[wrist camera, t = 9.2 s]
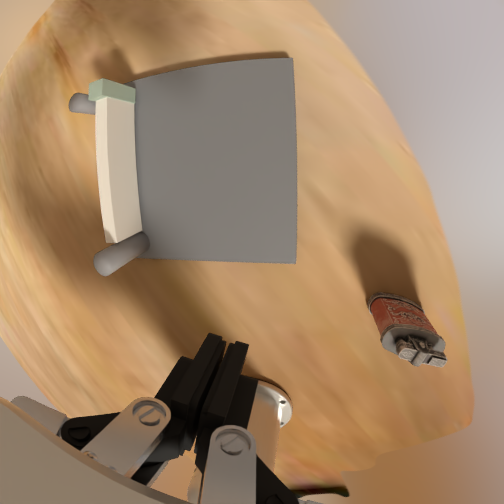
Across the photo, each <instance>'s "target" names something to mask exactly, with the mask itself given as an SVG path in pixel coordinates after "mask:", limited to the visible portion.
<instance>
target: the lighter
mask: <svg viewBox="0 0 504 504" xmlns="http://www.w3.org/2000/svg"><path fill="white" fill-rule="evenodd" d="M368 309H369V311H370V313H371V314H372V315H373V317H374V320H375V322H376V325H377V327H378V330H379V332H380V335H381V338H380V340H381V343H382V346H383V347H384V348H385V349H386V350H388V351H390V352H392V353H394V354H396V355H398V357H399V358H401V359H405V360H408V361H409V362H410V363H411V364H412V365H414V366H420V365H421V364H422V363H423V364H427V365H432V366H437V367H443V366H444V365H445V364H446V362H447V358H446V356H445V354H444V353H443V351H444V349H445V342H444V340H443V338H442V337H441V336H439V335H438V334H437V332H436V331H435V329H434V328H433V326H432V325H431V323H430V322H429V320H428V319H427V317H426V316H425V312H424V310H423V309H422V307H421V306H419V305H418V304H416V303H415V302H413V301H411V300H409V299H407V298H404V297H402V296H398V295H394V294H389V293H381V292H379V293H375V294H373V295H372V296H371V297H370V299H369V300H368Z"/></svg>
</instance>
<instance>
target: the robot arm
mask: <svg viewBox="0 0 504 504" xmlns="http://www.w3.org/2000/svg"><path fill="white" fill-rule="evenodd" d="M225 346H226V341H223V340H222V336H218V335H215V334H212V333H209V334H208V335H207V337H206V339H205V341H204V342H203V344H202V346H201V348H200V349H199V351H198V353H197V354H196V356H195V358H194V360H192V359H189V358H186V357H183V356H182V357H181V358H180V359H179V360H178V362H177V363H176V365H175V366H174V368H173V370H172V371H171V373H170V374H169V376H168V377H167V379H166V380H165V382H164V383H163V385H162V387H161V388H160V390H159V391H158V393H157V394H156V396H155V397H154V398H152V397H141V398H138V399H136V400H134V401H133V402H131V403H130V404H129V405H128V406H127V407H126V408H125V409H124V410H123V411H122V412H118V413H111V414H104V415H95V416H86V417H76V418H72V419H70V418H68V417H67V416H66V414H63V413H61V412H59V411H56V410H54V409H52V408H49V407H47V406H45V405H43V404H41V403H38V402H37V401H35V400H32V399H30V398H28V397H25V396H18V397H16V398H14V399H13V400H12V401H11V402H9V401H8V400H6V399H4V398H2V397H0V504H321V503H318V502H314V501H310V500H307V501H303V500H300V499H297V498H296V496H295V495H294V494H293V493H292V492H291V491H290V490H289V489H288V488H287V487H286V486H285V485H284V484H283V483H282V482H281V481H280V480H279V479H278V478H277V476H276V475H275V474H274V473H273V471H274V465H275V459H276V452H277V445H278V438H279V431H280V428H281V427H283V426H284V425H285V424H287V423H288V422H289V420H290V419H291V416H292V409H293V407H292V402H291V400H290V398H289V397H288V396H287V395H286V394H285V393H284V392H283V391H282V390H281V389H279V388H277V387H276V386H274V385H272V384H269V383H267V382H264V381H260V380H259V379H255V378H251V377H247V376H244V375H241V371H242V368H243V364H244V361H245V357H246V354H247V350H248V347H249V344H246V343H242V342H239V341H236V342H235V344H233V343H230V344H229V346H228V349H227V351H226V353H225V356H224V358H223V355H224V350H225ZM222 359H223V360H222ZM196 436H197V437H196ZM195 438H196V443H195V449H194V453H196V460H195V465H196V468H195V471H194V474H193V476H192V479H191V481H190V484H189V487H188V493H187V496H188V502H187V501H184V500H181V499H178V498H175V497H173V496H170V495H167V494H164V493H162V492H159V491H157V490H154V489H152V488H150V486H151V485H152V484H153V483H154V481H155V480H156V479H157V477H158V476H159V475H160V473H161V472H162V471H163V469H164V468H165V467H166V465H167V464H168V461H169V460H171V459H175V458H178V457H179V455H181V456H183V453H184V451H185V450H188V451H190V450H191V448H192V446H193V443H194V441H195Z"/></svg>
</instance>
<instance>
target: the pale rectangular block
mask: <svg viewBox="0 0 504 504" xmlns="http://www.w3.org/2000/svg"><path fill="white" fill-rule="evenodd" d="M135 96H136V89H135V88H132V87H129V86H126V85H123V84H120V83H117V82H114V81H111V80H108V79H104V78H102V79H99V80H97V81H94V82H92V83H89V97H88V100H90V101H96V157H97V173H98V185H99V195H100V204H101V212H102V220H103V227H104V233H105V239H106V243H118V242H120V241H122V240H124V239H126V238H128V237H130V236H132V235H134V234H136V233H138V232H140V231H142V223H141V214H140V205H139V195H138V184H137V170H136V154H135V126H134V104H135Z"/></svg>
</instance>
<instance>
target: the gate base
mask: <svg viewBox="0 0 504 504" xmlns="http://www.w3.org/2000/svg"><path fill="white" fill-rule="evenodd" d="M123 85H126V86H129V87H132V88H135V89H136V96H135V104H134V126H135V154H136V170H137V184H138V195H139V205H140V214H141V223H142V231H140V232H138V233H136V234H134V235H132V236H130V237H128V238H126V239H124V240H122V241H120V242H118V243H115V244H113V245H111V246H109V247H107V248H105V249H104V250H102V251H100V252H98V253H96V254H95V256H94V259H93V262H94V266H95V269H96V270H97V272H98V273H99V274H101V275H103V276H108V275H110V274H111V273H113V272H114V271H116V270H117V269H119V268H120V267H122V266H123V265H125V264H126V263H128V262H130V261H131V260H133V259H134V258H149V259H172V260H197V261H224V262H253V263H284V264H296V249H297V141H296V109H295V87H294V68H293V58H269V59H253V60H241V61H231V62H223V63H215V64H208V65H202V66H196V67H190V68H185V69H180V70H175V71H170V72H166V73H162V74H157V75H153V76H149V77H146V78H142V79H138V80H135V81H131V82H128V83H125V84H123ZM88 97H89V95H87V94H82V93H75V94H74V95H73V96H72V97H71V99H70V101H69V110H70V111H71V112H76V113H85V114H94V115H96V101H90V100H88Z"/></svg>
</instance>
